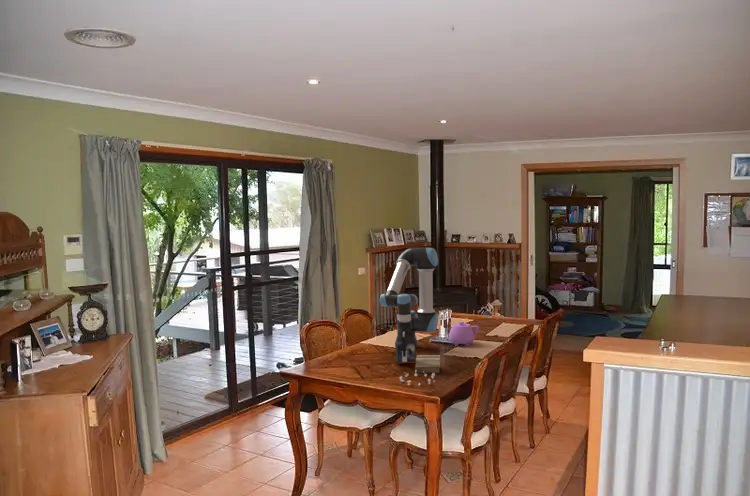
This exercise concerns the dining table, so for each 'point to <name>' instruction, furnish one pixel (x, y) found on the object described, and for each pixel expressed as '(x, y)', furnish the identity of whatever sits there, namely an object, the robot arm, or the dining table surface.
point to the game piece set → (417, 375)
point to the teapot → (462, 334)
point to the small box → (410, 351)
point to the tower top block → (428, 361)
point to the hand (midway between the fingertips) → (405, 359)
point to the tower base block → (427, 369)
